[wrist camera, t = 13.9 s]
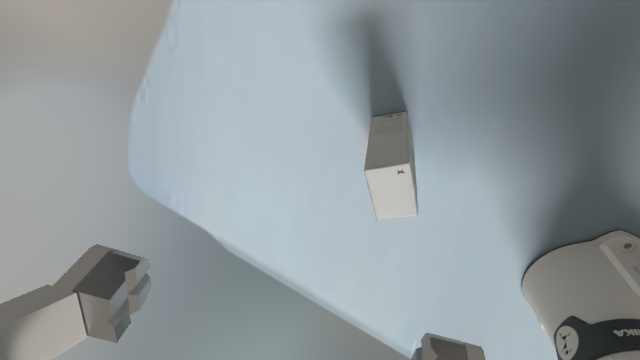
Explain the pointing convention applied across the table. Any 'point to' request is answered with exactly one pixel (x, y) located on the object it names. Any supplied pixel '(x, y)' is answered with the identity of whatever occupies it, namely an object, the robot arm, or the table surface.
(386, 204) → the skincare box
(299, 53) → the table surface
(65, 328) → the robot arm
